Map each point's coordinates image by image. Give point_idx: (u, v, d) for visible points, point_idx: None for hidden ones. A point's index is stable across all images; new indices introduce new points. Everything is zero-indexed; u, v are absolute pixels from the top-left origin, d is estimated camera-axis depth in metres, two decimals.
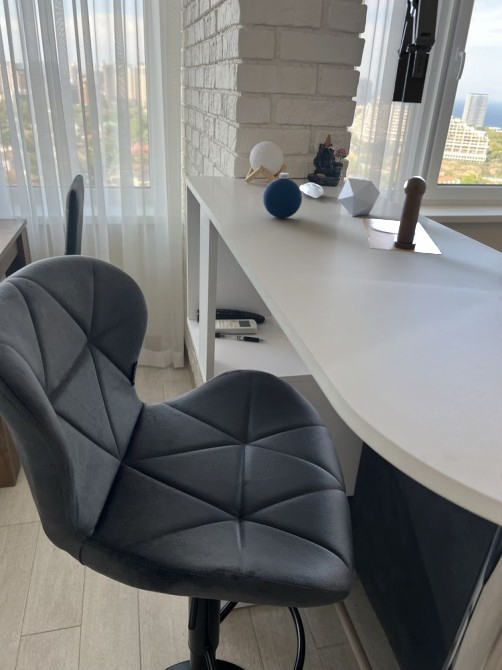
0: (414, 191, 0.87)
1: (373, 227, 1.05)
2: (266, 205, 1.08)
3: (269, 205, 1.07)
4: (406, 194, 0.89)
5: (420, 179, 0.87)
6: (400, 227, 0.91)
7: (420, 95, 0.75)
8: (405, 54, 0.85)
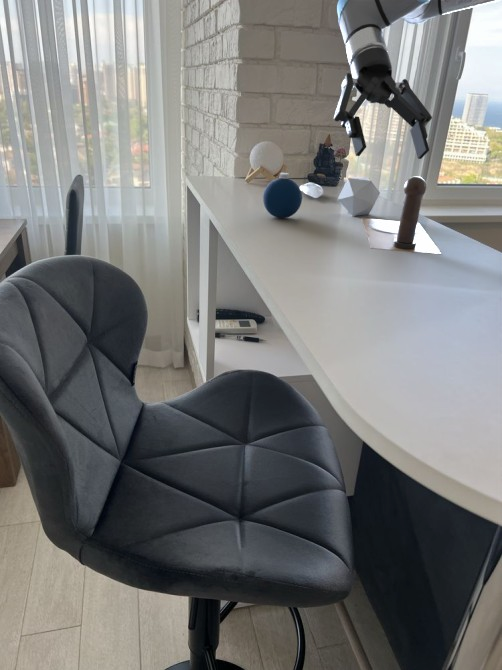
0: (414, 191, 0.87)
1: (373, 227, 1.05)
2: (266, 205, 1.08)
3: (269, 205, 1.07)
4: (406, 194, 0.89)
5: (420, 179, 0.87)
6: (400, 227, 0.91)
7: (360, 142, 0.92)
8: (415, 123, 0.99)
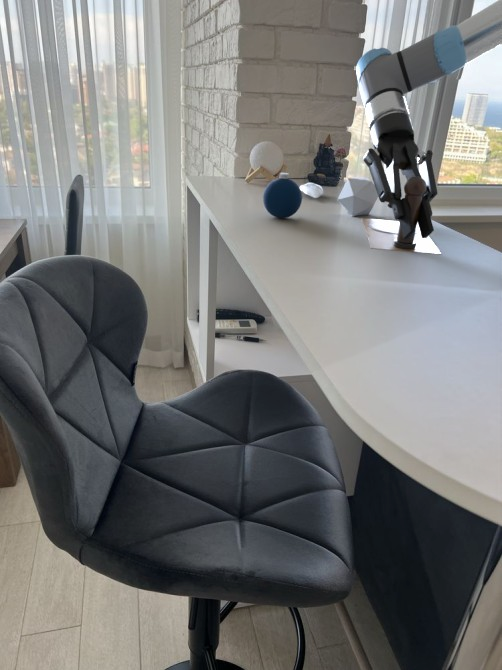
0: (414, 191, 0.87)
1: (373, 227, 1.05)
2: (266, 205, 1.08)
3: (269, 205, 1.07)
4: (406, 194, 0.89)
5: (420, 179, 0.87)
6: (400, 227, 0.91)
7: (408, 226, 0.87)
8: None
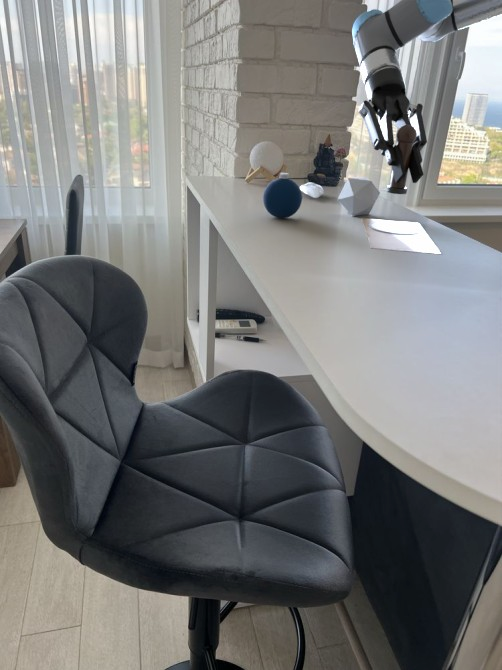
0: (405, 138, 0.95)
1: (373, 227, 1.05)
2: (266, 205, 1.08)
3: (269, 205, 1.07)
4: (398, 141, 0.96)
5: (411, 127, 0.95)
6: None
7: (400, 170, 0.95)
8: None
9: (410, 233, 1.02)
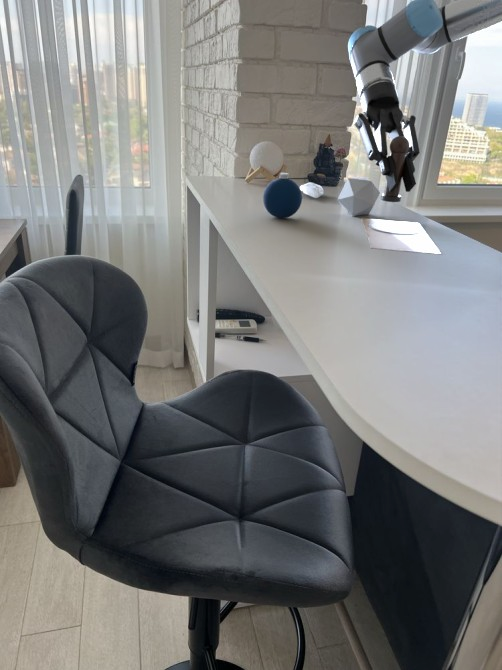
0: (398, 148, 0.99)
1: (373, 227, 1.05)
2: (266, 205, 1.08)
3: (269, 205, 1.07)
4: (391, 152, 1.01)
5: (403, 138, 0.99)
6: None
7: (393, 180, 0.99)
8: None
9: (410, 233, 1.02)
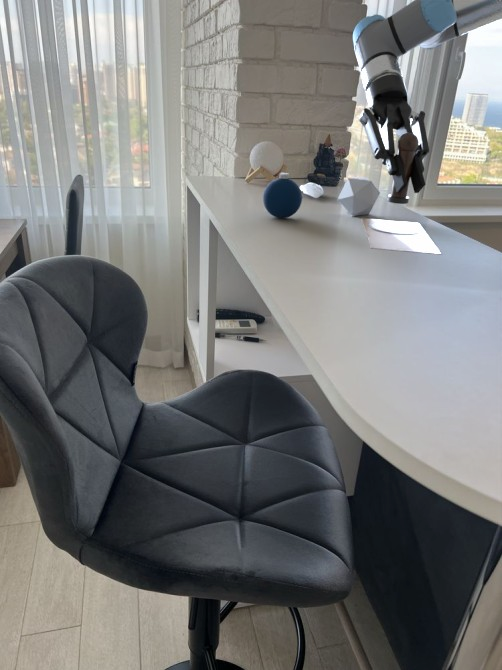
0: (407, 146, 0.92)
1: (373, 227, 1.05)
2: (266, 205, 1.08)
3: (269, 205, 1.07)
4: (399, 150, 0.94)
5: (412, 135, 0.92)
6: None
7: (401, 180, 0.92)
8: None
9: (410, 233, 1.02)
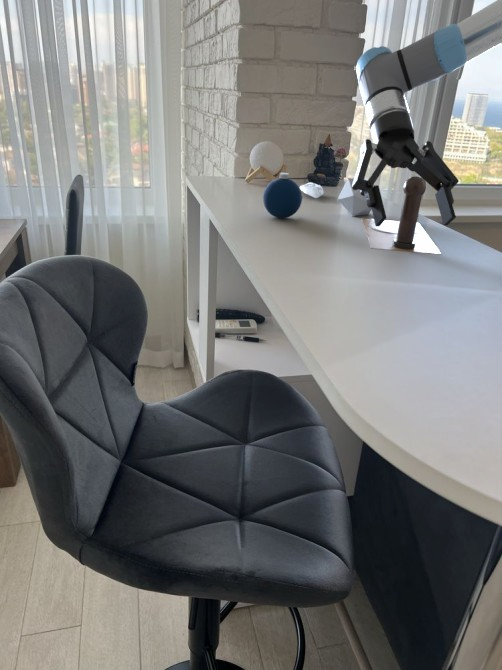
0: (414, 191, 0.87)
1: (373, 227, 1.05)
2: (266, 205, 1.08)
3: (269, 205, 1.07)
4: (406, 194, 0.89)
5: (419, 179, 0.87)
6: (399, 227, 0.91)
7: (380, 213, 0.87)
8: (440, 187, 0.93)
9: None
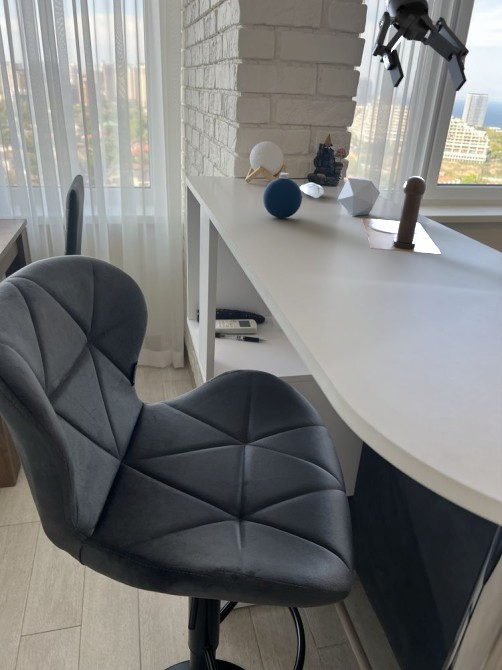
0: (414, 191, 0.87)
1: (373, 227, 1.05)
2: (266, 205, 1.08)
3: (269, 205, 1.07)
4: (406, 194, 0.89)
5: (419, 179, 0.87)
6: (399, 227, 0.91)
7: (398, 72, 0.95)
8: (452, 58, 1.02)
9: None
